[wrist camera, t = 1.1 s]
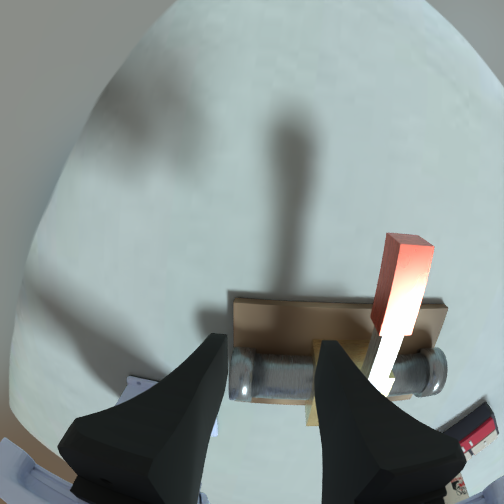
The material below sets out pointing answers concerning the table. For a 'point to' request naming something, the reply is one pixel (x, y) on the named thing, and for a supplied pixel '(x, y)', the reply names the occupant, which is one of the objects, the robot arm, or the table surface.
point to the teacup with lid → (456, 490)
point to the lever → (396, 301)
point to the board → (320, 329)
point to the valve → (303, 370)
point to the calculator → (475, 430)
